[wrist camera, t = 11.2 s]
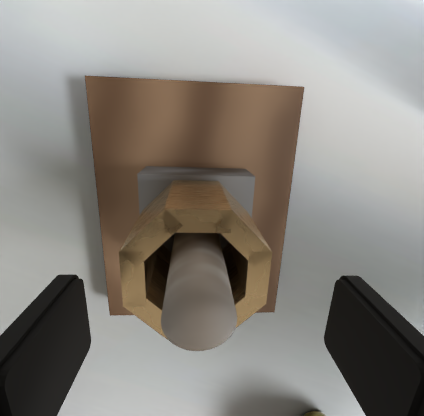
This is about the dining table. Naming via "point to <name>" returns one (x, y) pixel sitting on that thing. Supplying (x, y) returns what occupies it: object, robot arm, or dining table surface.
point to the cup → (314, 413)
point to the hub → (193, 223)
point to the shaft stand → (192, 171)
